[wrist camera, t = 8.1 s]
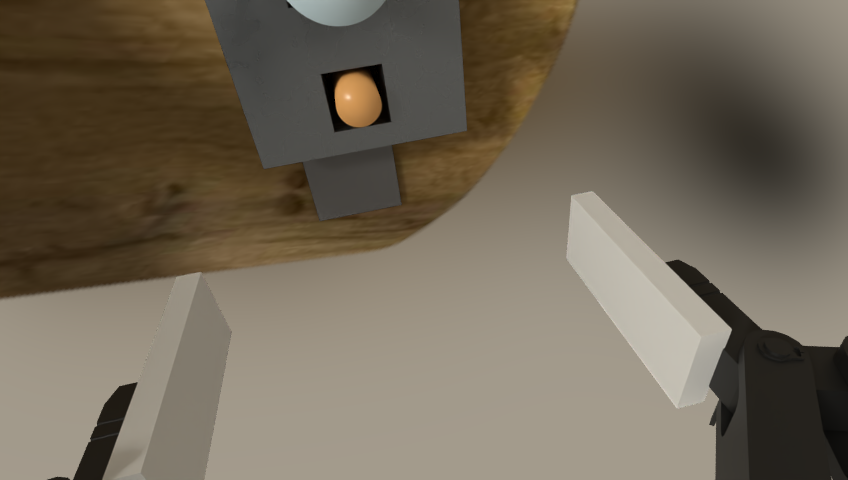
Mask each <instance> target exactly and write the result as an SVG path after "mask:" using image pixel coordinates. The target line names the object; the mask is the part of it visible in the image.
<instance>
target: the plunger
mask: <svg viewBox="0 0 848 480" xmlns="http://www.w3.org/2000/svg"><path fill="white" fill-rule="evenodd" d="M332 80H333V88H334V95H335V103H336V110H337V113H338V115H339V117H340V118H341V119H342V120H343V121H344V122H345V123H346V124H348V125H350V126H353V127H365V126H368V125H370V124H372V123H373V122H374V121H375V120H376V119H377V118H378V116H379V115H380V112H381V108H382V102H381V98H380V95H379V93H378V90H377V87H376V85H375V82H374V79H373V77H372V74H371V71H370V69H369V67H368V66H365V67H359V68H353V69H347V70H342V71H336V72H333V75H332Z"/></svg>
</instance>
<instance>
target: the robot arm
mask: <svg viewBox="0 0 848 480" xmlns="http://www.w3.org/2000/svg"><path fill="white" fill-rule="evenodd" d="M566 259H567V260H568V262H569V263H570V264H571V266H572V267H573V268H574V270H575V271H576V272H577V273H578V275H579V277H580V278H581V279H582V281H583V282H584V283H585V285H586V286H587V287H588V288H589V290H590V291H591V293H592V294H593V296H594V297H595V298H596V300H597V301H598V302H599V304H600V305H601V306H602V308H603V309H604V310H605V312H606V313H607V314H608V316H609V317H610V318H611V320H612V321H613V323H614V324H615V325H616V327H617V328H618V329H619V331H620V332H621V333H622V335H623V336H624V337H625V339H626V340H627V342H628V343H629V344H630V346H631V347H632V348H633V350H634V351H635V352H636V354H637V355H638V357H639V358H640V359H641V361H642V362H643V363H644V365H645V366H646V367H647V369H648V370H649V372H650V373H651V374H652V376H653V377H654V378H655V380H656V381H657V382H658V384H659V385H660V386H661V388H662V389H663V391H664V392H665V393H666V395H667V396H668V397H669V398H670V400H671V401H672V403H673V404H674V405H675V407H676V408H677V409H678V408H681V407H685V406H689V405H693V404H697V403H701V402H704V400H705V397H706V395H707V392H708V390H709V387H710V388H711V390H712V391H713V392H714V393H715V394H716V395H717V397H718V398H719V401H718V404H717V406H716V408H715V411H714V413H713V415H712V418H711V421H710V424H709V425H712V426H714V425H715V423H716V480H831V477H832V479H833V480H848V336H847V337H845V339H844V340H843V342H842V344H841V345H840V347H817V346H802V345H801V344H800V343H799V342H798V341H796V340H794V339H793V338H791V337H789V336H787V335H785V334H782V333H779V332H776V331H769V330H762V329H761V328H760V327H759V326H757V325H756V324H755V323H754V322H753V321H752V320H751V319H750V318H749V317H748V316H747V315H746V314H744V313H743V312H742V311H741V310H740V309H739V308H738V307H737V306H736V305H735V304H734V303H733V302H731V300H729V299H728V298H727V297H726V296H725V295H724V294H723V293H720V291H719V289H718V288H716V287H715V286H714V285H713V284H712V283H709V280H708V279H707V278H706V277H705V276H704V275H702V274H701V273H700V272H699V271H698V270H697V269H696V268H694V267H692V266H690V265H688V264H686V263H684V262H682V261H680V260H674V261H670V262H666V263H665V262H664V261H663V260H662V259H661V258H660V257H659V256H658V255H657V254H656V253H655V252H654V251H652V250H651V249H650V247H648V245H647V244H645V243H644V242H643V241H642V240H641V239H640V238H639V237H638V236H637V235H636V234H635V233H634V232H633V231H632V230H631V229H630V228H629V227H628V226H627V225H626V224H625V223H624V222H623V221H622V220H621V219H620V218H619V217H618V216H617V215H616V214H615V213H614V212H613V211H612V210H611V209H610V208H609V207H608V206H607V205H606V204H605V203H604V202H603V201H602V200H601V199H600V198H599V197H598V196H597V195H596V194H595V193H594V192H593V191H590V192H586V193H581V194H576V195H572V196H571V207H570V219H569V231H568V243H567V255H566ZM231 333H232V332H231V329H230V328H229V326H228V324H227V322H226V320H225V318H224V316H223V314H222V312H221V310H220V308H219V306H218V304H217V302H216V300H215V298H214V296H213V294H212V292H211V290H210V288H209V286H208V284H207V283H206V280H205V278H204V276H203V274H202V273H201V272H198V273H193V274H188V275H183V276H178V277H176V279H175V282H174V285H173V287H172V290H171V293H170V296H169V298H168V301H167V304H166V307H165V309H164V312H163V315H162V318H161V320H160V323H159V326H158V329H157V331H156V334H155V337H154V340H153V342H152V345H151V348H150V351H149V353H148V356H147V359H146V362H145V364H144V367H143V370H142V372H141V375H140V378H139V381H138V382H136V383H132V384H127V385H123V386H119V387H118V389H117V390H116V391H115V392H114V393H113V395H112V396H111V397H110V398H109V400H108V401H107V402H106V403H105V404H104V407H103V409H102V411H101V414H100V416H99V419H98V421H97V427H95V428H94V431H93V433H92V435H91V438H90V439H91V442H89V443H88V445H87V447H86V450H85V453H84V455H83V457H82V459H81V462H80V464H79V467H78V469H77V471H76V474H75V477H74V479H73V480H204V478H205V472H206V467H207V461H208V456H209V451H210V446H211V440H212V435H213V430H214V424H215V419H216V413H217V408H218V403H219V397H220V392H221V387H222V381H223V376H224V370H225V365H226V360H227V354H228V348H229V343H230V338H231ZM48 480H70V479H68V478H65V477H55V478H51V479H48Z"/></svg>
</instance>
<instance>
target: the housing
mask: <svg viewBox="0 0 848 480" xmlns="http://www.w3.org/2000/svg"><path fill="white" fill-rule="evenodd" d="M205 2H206V5H207V8H208V10H209V13H210V16H211V19H212V22H213V25H214V28H215V30H216V33H217V36H218V39H219V42H220V45H221V48H222V51H223V53H224V56H225V59H226V62H227V65H228V68H229V71H230V73H231V76H232V79H233V82H234V85H235V88H236V91H237V94H238V96H239V99H240V102H241V105H242V108H243V111H244V114H245V116H246V119H247V122H248V125H249V128H250V131H251V134H252V137H253V139H254V142H255V145H256V148H257V151H258V154H259V157H260V160H261V162H262V165H263V168H264V169H267V168H272V167H277V166H283V165H288V164H293V163H298V162H304V161H309V160H314V159H320V158H325V157H330V156H336V155H341V154H346V153H351V152H357V151H362V150H367V149H373V148H378V147H383V146H389V145H394V144H399V143H404V142H410V141H415V140H420V139H426V138H431V137H436V136H442V135H447V134H452V133H457V132H463V131H467V122H466V106H465V90H464V74H463V58H462V42H461V26H460V10H459V0H385V2H384V3H383V4H382V6H381V7H380V8H379V9H378V10H377V11H376V12H375V13H374V14H372V15H371V16H370V17H368V18H367V19H365V20H363V21H361V22H358V23H356V24H352V25H348V26H329V25H324V24H321V23H318V22H315V21H313V20H311V19H309V18H307V17H305V16H304V15H302V14H301V13H300V12H298V11H297V10H296V9H295V8H294V7H293V6H292V5H291V4H290V3H289V2H288V1H287V0H205ZM371 65H377V71H378V77H379V83H380V89H381V95H382V98H381V102H382V108H381V112H380V115H379V116H378V118H377V119H376V120H375V121H374V122H373V123H372V124H370V125H368V126H365V127H353V126H350V125H348V124H346V123H345V122H344V121H343V120H342V119H341V118H340V117H339V115H338V113H337V110H336V106H335V107H332V106H331V102H330V98H329V93H328V89H327V85H326V81H325V76H324V73H330V72H336V71H342V70H347V69H353V68H359V67H365V66H371Z"/></svg>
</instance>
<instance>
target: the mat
mask: <svg viewBox="0 0 848 480" xmlns="http://www.w3.org/2000/svg"><path fill="white" fill-rule="evenodd" d="M303 165H304V169H305V172H306V176H307V179H308V182H309V186H310V189H311V193H312V196H313V200H314V203H315V206H316V210H317V213H318V217H319V220H320V221H323V220H328V219H333V218H338V217H343V216H348V215H353V214H358V213H363V212H368V211H373V210H378V209H383V208H388V207H393V206H398V205H402V204H401V198H400V192H399V186H398V180H397V174H396V168H395V162H394V156H393V150H392V145H389V146H383V147H378V148H373V149H367V150H362V151H357V152H351V153H346V154H341V155H336V156H330V157H325V158H320V159H314V160H309V161H304V162H303Z"/></svg>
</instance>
